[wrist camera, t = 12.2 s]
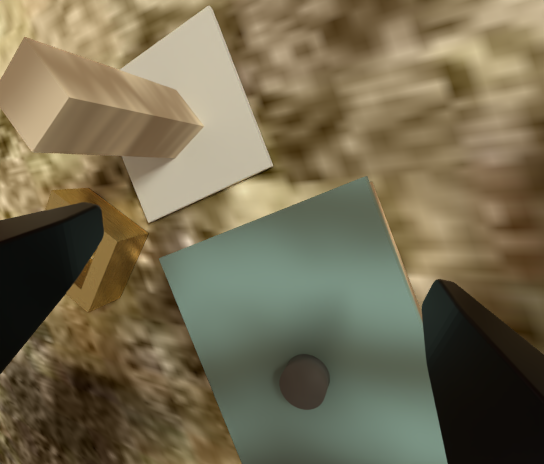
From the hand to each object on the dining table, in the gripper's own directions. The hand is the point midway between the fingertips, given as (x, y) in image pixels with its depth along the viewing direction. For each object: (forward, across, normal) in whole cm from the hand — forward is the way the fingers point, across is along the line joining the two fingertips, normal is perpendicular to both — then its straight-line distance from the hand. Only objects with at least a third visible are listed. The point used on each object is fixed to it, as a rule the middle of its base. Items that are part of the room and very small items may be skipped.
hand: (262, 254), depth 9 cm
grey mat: (+14, +8, +2) cm, 16 cm away
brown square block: (+14, +8, +2) cm, 16 cm away
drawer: (+8, -4, +10) cm, 13 cm away
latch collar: (+13, +13, +11) cm, 22 cm away
